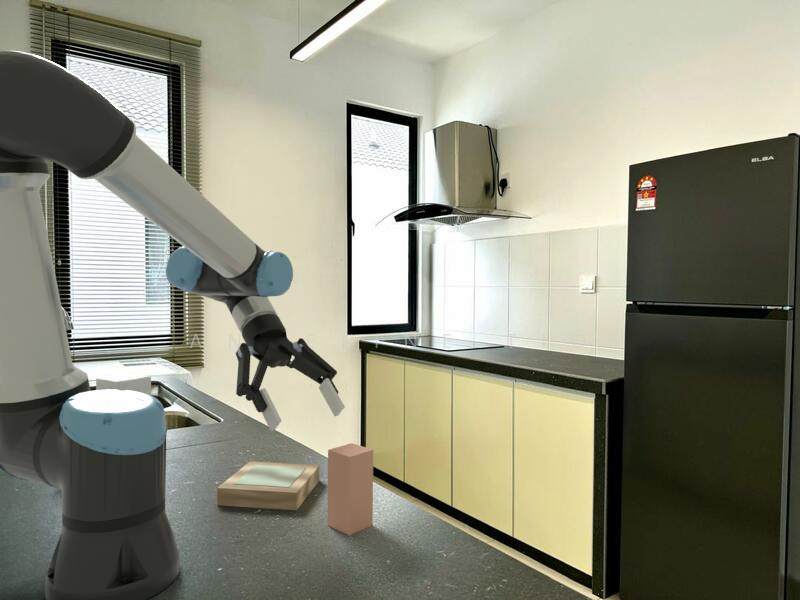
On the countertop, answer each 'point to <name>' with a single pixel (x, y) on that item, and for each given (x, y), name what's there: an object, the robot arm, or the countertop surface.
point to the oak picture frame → (269, 485)
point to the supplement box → (125, 383)
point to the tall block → (350, 488)
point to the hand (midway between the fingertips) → (309, 418)
